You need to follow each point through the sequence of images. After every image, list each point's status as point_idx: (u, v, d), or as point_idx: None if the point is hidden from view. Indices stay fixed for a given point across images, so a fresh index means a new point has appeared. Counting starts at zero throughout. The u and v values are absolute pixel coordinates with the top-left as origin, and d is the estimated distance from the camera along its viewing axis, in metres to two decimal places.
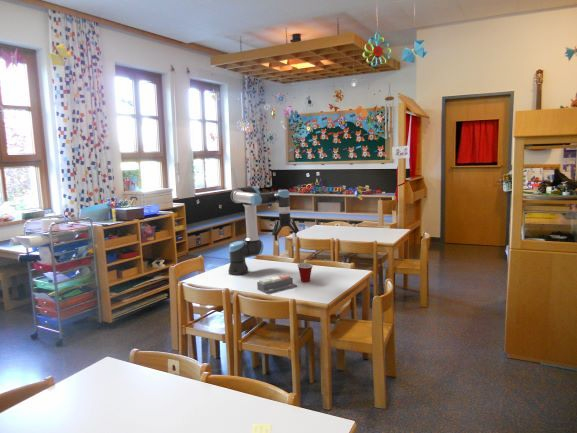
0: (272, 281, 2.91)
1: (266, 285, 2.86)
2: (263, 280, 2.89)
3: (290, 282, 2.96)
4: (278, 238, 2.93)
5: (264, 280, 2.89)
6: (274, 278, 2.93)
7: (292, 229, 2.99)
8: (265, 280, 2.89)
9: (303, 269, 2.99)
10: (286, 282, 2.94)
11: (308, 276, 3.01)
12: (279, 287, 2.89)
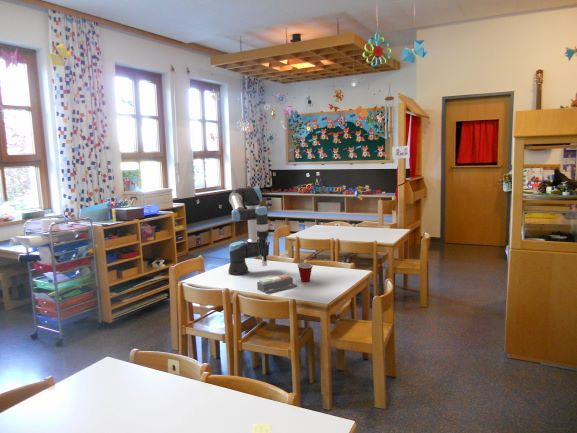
0: (272, 281, 2.91)
1: (266, 285, 2.86)
2: (263, 280, 2.89)
3: (290, 282, 2.96)
4: (262, 258, 2.87)
5: (264, 280, 2.89)
6: (274, 278, 2.93)
7: (263, 250, 2.86)
8: (265, 280, 2.89)
9: (303, 269, 2.99)
10: (286, 282, 2.94)
11: (308, 276, 3.01)
12: (279, 287, 2.89)
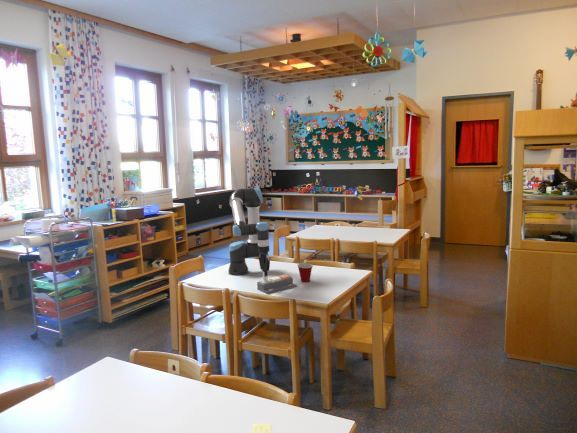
0: (272, 281, 2.91)
1: (266, 285, 2.86)
2: (263, 281, 2.89)
3: (290, 282, 2.96)
4: (263, 274, 2.88)
5: (264, 281, 2.89)
6: (274, 278, 2.93)
7: (263, 265, 2.87)
8: (265, 281, 2.89)
9: (303, 269, 2.99)
10: (286, 282, 2.94)
11: (308, 276, 3.01)
12: (279, 287, 2.89)
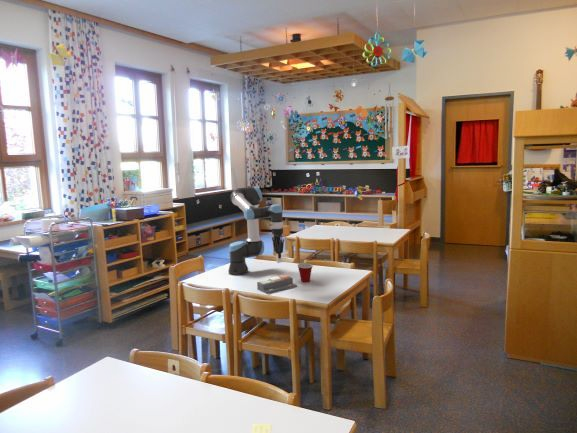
0: (272, 281, 2.91)
1: (266, 285, 2.86)
2: (263, 281, 2.90)
3: (290, 282, 2.96)
4: (277, 255, 2.93)
5: (264, 281, 2.89)
6: (274, 278, 2.93)
7: None
8: (265, 281, 2.89)
9: (303, 269, 2.99)
10: (286, 282, 2.94)
11: (308, 276, 3.01)
12: (279, 287, 2.89)
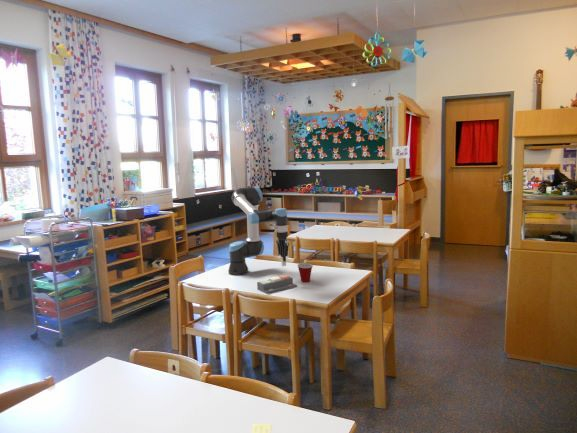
0: (272, 281, 2.91)
1: (266, 285, 2.86)
2: (263, 281, 2.90)
3: (290, 282, 2.96)
4: (281, 259, 2.95)
5: (264, 281, 2.89)
6: (274, 278, 2.93)
7: (282, 251, 2.94)
8: (265, 281, 2.89)
9: (303, 269, 2.99)
10: (286, 282, 2.94)
11: (308, 276, 3.01)
12: (279, 287, 2.89)
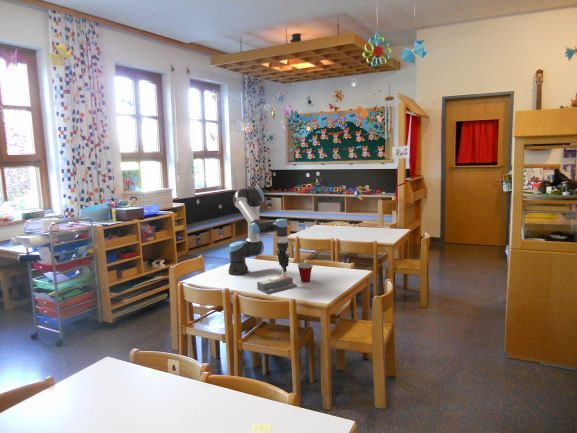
0: (272, 281, 2.91)
1: (266, 285, 2.86)
2: (263, 281, 2.90)
3: (290, 282, 2.96)
4: (282, 269, 2.96)
5: (264, 281, 2.89)
6: (274, 278, 2.93)
7: (283, 261, 2.95)
8: (265, 281, 2.89)
9: (303, 269, 2.99)
10: (286, 282, 2.94)
11: (308, 276, 3.01)
12: (279, 287, 2.89)
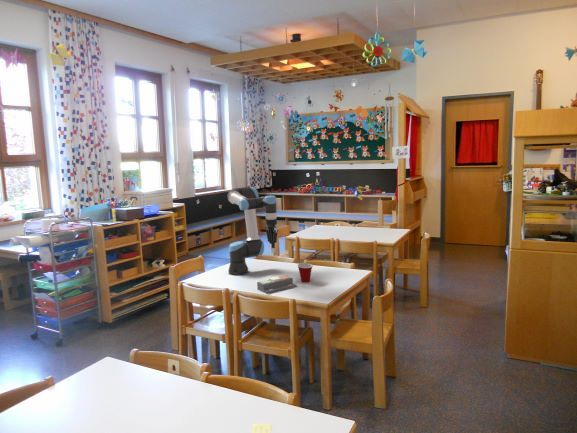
0: (272, 281, 2.91)
1: (266, 285, 2.86)
2: (263, 281, 2.90)
3: (290, 282, 2.96)
4: (270, 245, 2.99)
5: (264, 281, 2.89)
6: (274, 278, 2.93)
7: (271, 238, 2.98)
8: (265, 281, 2.89)
9: (303, 269, 2.99)
10: (286, 282, 2.94)
11: (308, 276, 3.01)
12: (279, 287, 2.89)
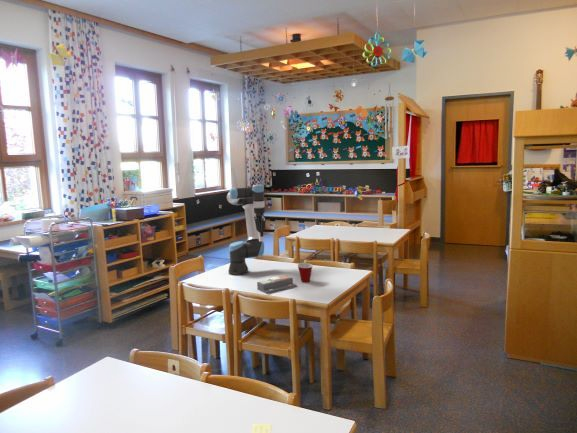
0: (272, 281, 2.91)
1: (266, 285, 2.86)
2: (263, 281, 2.90)
3: (290, 282, 2.96)
4: (259, 234, 3.02)
5: (264, 281, 2.89)
6: (274, 278, 2.93)
7: None
8: (265, 281, 2.89)
9: (303, 269, 2.99)
10: (286, 282, 2.94)
11: (308, 276, 3.01)
12: (279, 287, 2.89)
